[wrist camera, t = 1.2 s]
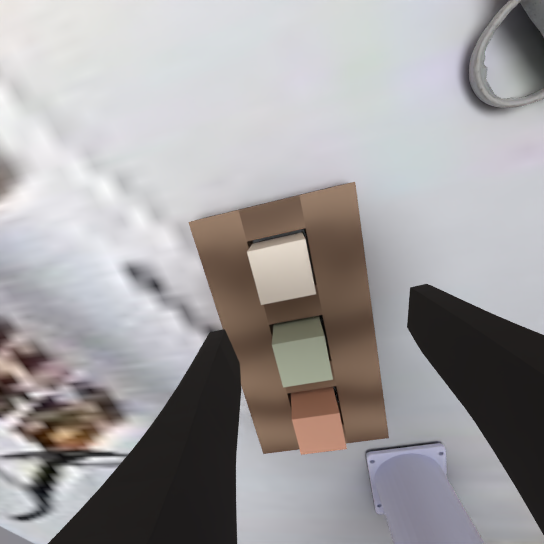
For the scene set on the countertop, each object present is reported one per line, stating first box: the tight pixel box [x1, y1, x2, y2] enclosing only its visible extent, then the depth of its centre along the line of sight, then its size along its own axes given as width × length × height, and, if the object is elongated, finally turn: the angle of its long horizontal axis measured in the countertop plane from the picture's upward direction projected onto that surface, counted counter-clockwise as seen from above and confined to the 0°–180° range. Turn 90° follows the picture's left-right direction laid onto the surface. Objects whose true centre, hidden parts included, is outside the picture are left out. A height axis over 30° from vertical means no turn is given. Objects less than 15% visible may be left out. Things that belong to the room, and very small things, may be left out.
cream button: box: [247, 232, 316, 305], centre depth 18 cm, size 4×4×3 cm
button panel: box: [189, 182, 389, 454], centre depth 22 cm, size 23×12×2 cm, turn 13°
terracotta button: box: [291, 387, 347, 455], centre depth 22 cm, size 4×4×3 cm
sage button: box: [272, 316, 333, 387], centre depth 20 cm, size 4×4×3 cm
